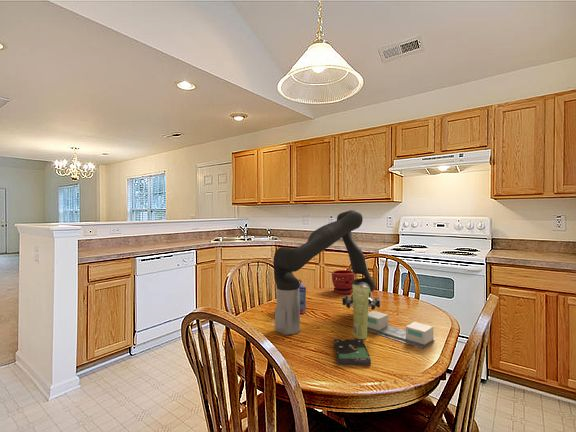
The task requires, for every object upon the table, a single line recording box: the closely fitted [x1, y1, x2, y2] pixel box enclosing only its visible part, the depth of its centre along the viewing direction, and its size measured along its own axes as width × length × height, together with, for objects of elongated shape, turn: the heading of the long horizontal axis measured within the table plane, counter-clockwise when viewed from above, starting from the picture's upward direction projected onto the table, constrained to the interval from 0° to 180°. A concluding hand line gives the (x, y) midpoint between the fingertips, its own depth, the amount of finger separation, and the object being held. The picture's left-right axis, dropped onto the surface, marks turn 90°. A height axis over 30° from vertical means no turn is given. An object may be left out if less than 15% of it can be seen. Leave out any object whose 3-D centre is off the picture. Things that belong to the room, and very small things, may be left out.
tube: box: [352, 284, 370, 340], centre depth 119 cm, size 6×5×20 cm
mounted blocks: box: [367, 310, 434, 345], centre depth 121 cm, size 7×25×4 cm, turn 43°
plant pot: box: [331, 269, 356, 295], centre depth 183 cm, size 13×13×12 cm
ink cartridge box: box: [298, 278, 307, 314], centre depth 151 cm, size 10×6×14 cm, turn 15°
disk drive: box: [333, 338, 372, 366], centre depth 105 cm, size 10×3×15 cm
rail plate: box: [367, 324, 436, 350], centre depth 121 cm, size 10×25×1 cm, turn 43°
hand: (360, 306), depth 118 cm, fingers open, 8 cm apart
